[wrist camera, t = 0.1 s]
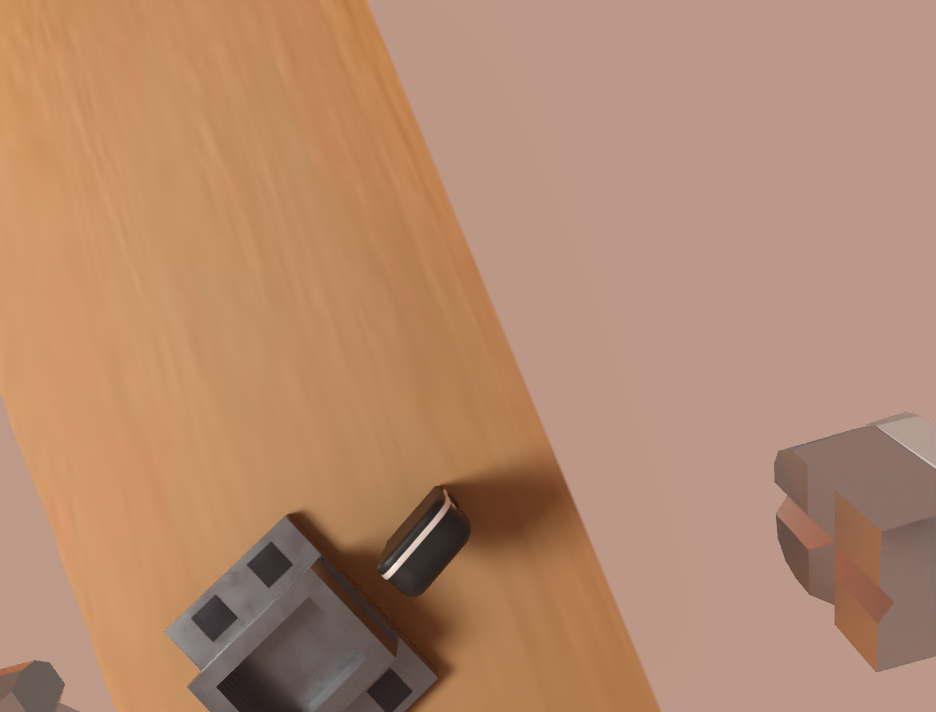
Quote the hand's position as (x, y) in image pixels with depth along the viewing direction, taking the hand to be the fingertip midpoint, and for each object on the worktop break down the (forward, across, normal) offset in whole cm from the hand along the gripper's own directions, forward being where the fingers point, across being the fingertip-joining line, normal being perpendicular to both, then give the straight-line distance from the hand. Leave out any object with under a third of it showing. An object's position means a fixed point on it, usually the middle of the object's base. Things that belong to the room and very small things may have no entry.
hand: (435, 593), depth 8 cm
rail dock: (+41, -15, -38) cm, 58 cm away
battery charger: (+44, -2, -32) cm, 55 cm away
